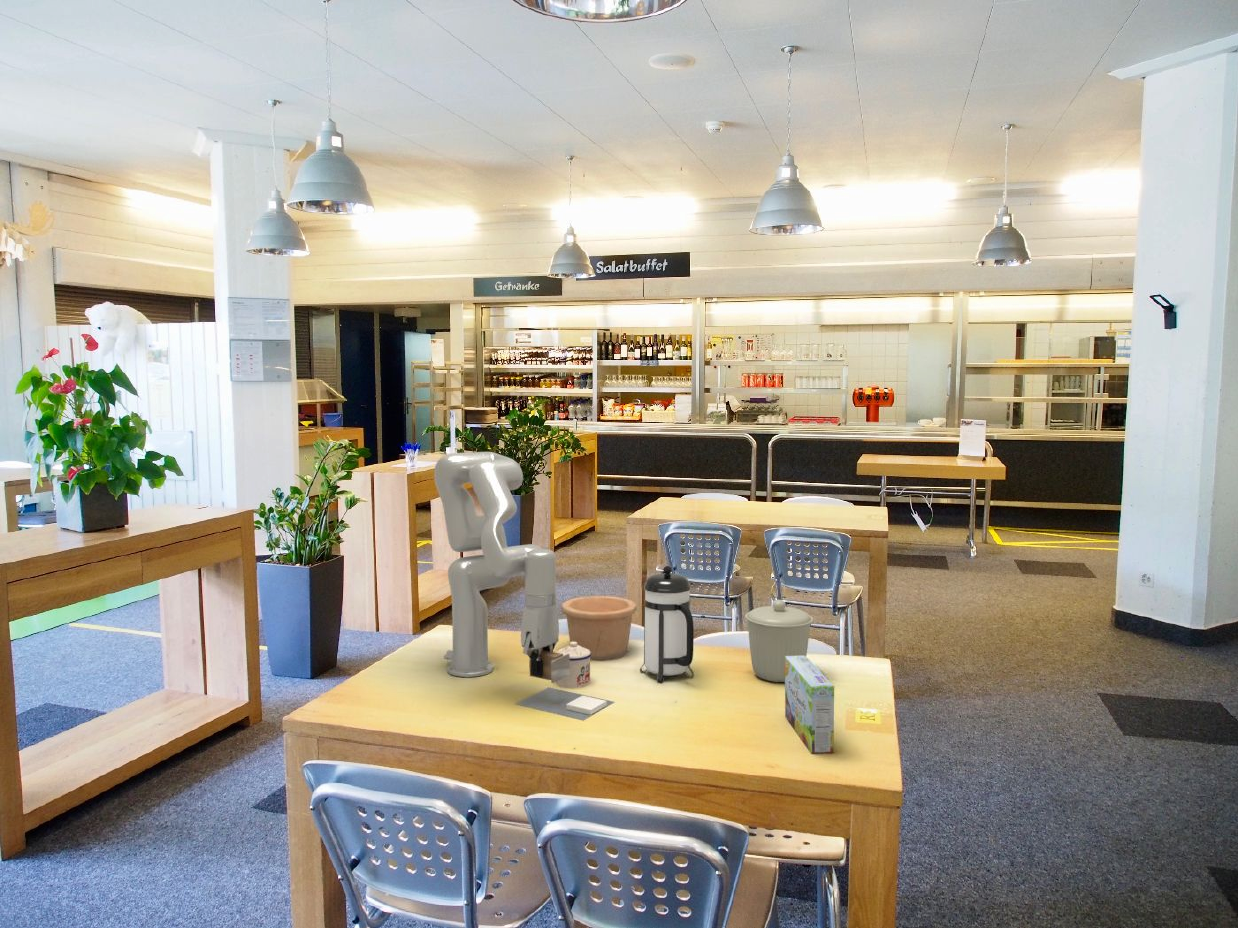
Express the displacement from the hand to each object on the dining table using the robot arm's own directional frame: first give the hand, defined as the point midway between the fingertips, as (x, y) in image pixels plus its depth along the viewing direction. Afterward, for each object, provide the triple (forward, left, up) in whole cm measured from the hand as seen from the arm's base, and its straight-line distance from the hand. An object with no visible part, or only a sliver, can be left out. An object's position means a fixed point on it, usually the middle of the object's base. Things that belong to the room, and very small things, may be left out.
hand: (541, 672), depth 211 cm
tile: (+9, +1, -6) cm, 11 cm away
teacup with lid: (-1, +16, -8) cm, 18 cm away
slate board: (+6, +1, -8) cm, 10 cm away
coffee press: (+17, +35, -8) cm, 40 cm away
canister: (+42, +50, -8) cm, 66 cm away
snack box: (+62, +16, -8) cm, 65 cm away
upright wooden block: (+1, 0, -1) cm, 2 cm away
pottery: (-11, +43, -8) cm, 45 cm away
